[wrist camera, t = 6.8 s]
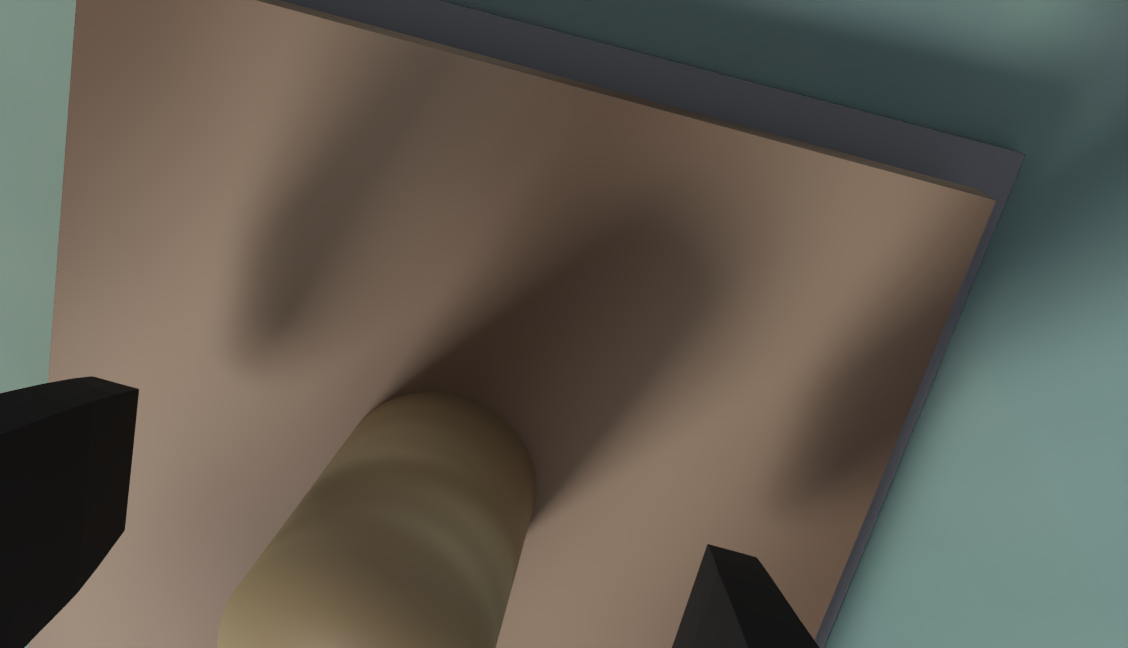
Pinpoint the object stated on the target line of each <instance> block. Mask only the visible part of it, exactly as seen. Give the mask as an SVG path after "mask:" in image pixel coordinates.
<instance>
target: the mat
mask: <svg viewBox="0 0 1128 648" xmlns="http://www.w3.org/2000/svg"><path fill="white" fill-rule="evenodd" d="M280 1H284V2H288V3H291V4H295V5H299V6H303V7H306V8H310V9H314V10H317V11H321V12H325V13H328V14H332V15H336V16H340V17H343V18H347V19H351V20H354V21H358V22H362V23H365V24H369V25H373V26H377V27H380V28H384V29H388V30H391V31H395V32H399V33H402V34H406V35H410V36H414V37H417V38H421V39H425V40H428V41H432V42H436V43H439V44H443V45H447V46H451V47H454V48H458V49H462V50H465V51H469V52H473V53H476V54H480V55H484V56H487V57H491V58H495V59H499V60H502V61H506V62H510V63H513V64H517V65H521V66H524V67H528V68H532V69H536V70H539V71H543V72H547V73H550V74H554V75H558V76H561V77H565V78H569V79H573V80H576V81H580V82H584V83H587V84H591V85H595V86H598V87H602V88H606V89H610V90H613V91H617V92H621V93H624V94H628V95H632V96H635V97H639V98H643V99H647V100H650V101H654V102H658V103H661V104H665V105H669V106H672V107H676V108H680V109H684V110H687V111H691V112H695V113H698V114H702V115H706V116H709V117H713V118H717V119H721V120H724V121H728V122H732V123H735V124H739V125H743V126H746V127H750V128H754V129H758V130H761V131H765V132H769V133H772V134H776V135H780V136H783V137H787V138H791V139H795V140H798V141H802V142H806V143H809V144H813V145H817V146H820V147H824V148H828V149H832V150H835V151H839V152H843V153H846V154H850V155H854V156H857V157H861V158H865V159H868V160H872V161H876V162H880V163H883V164H887V165H891V166H894V167H898V168H902V169H905V170H909V171H913V172H917V173H920V174H924V175H928V176H931V177H935V178H939V179H942V180H946V181H950V182H954V183H957V184H961V185H965V186H968V187H972V188H976V189H978V190H979V191H981V192H983V193H984V194H986V195H988V196H989V197H991V198H993V199H994V200H996V202H995V205H994V207H993V210H992V212H991V214H990V217H989V219H988V222H987V224H986V227H985V229H984V231H983V234H982V236H981V239H980V241H979V244H978V246H977V248H976V251H975V253H974V256H973V258H972V260H971V263H970V265H969V268H968V270H967V273H966V275H965V277H964V280H963V282H962V285H961V287H960V289H959V292H958V294H957V297H956V299H955V302H954V304H953V306H952V309H951V311H950V314H949V316H948V319H947V321H946V323H945V326H944V328H943V331H942V333H941V335H940V338H939V340H938V343H937V345H936V348H935V350H934V352H933V355H932V357H931V360H930V362H929V364H928V367H927V369H926V372H925V374H924V377H923V379H922V381H921V384H920V386H919V389H918V391H917V394H916V396H915V398H914V401H913V403H912V406H911V408H910V410H909V413H908V415H907V418H906V420H905V423H904V425H903V427H902V430H901V432H900V435H899V437H898V439H897V442H896V444H895V447H894V449H893V452H892V454H891V456H890V459H889V461H888V464H887V466H886V469H885V471H884V473H883V476H882V478H881V481H880V483H879V485H878V488H877V490H876V493H875V495H874V498H873V500H872V502H871V505H870V507H869V510H868V512H867V514H866V517H865V519H864V522H863V524H862V527H861V529H860V531H859V534H858V536H857V539H856V541H855V544H854V546H853V548H852V551H851V553H850V556H849V558H848V560H847V563H846V565H845V568H844V570H843V573H842V575H841V577H840V580H839V582H838V585H837V587H836V589H835V592H834V594H833V597H832V599H831V602H830V604H829V606H828V609H827V611H826V614H825V616H824V618H823V621H822V623H821V626H820V628H819V631H818V633H817V635H816V638H815V642H816V643H817V645H818V646H819V647H820V648H824V646H825V644H826V641H827V639H828V636H829V634H830V631H831V629H832V626H833V624H834V622H835V619H836V617H837V614H838V612H839V609H840V607H841V604H842V602H843V600H844V597H845V595H846V592H847V590H848V587H849V585H850V582H851V580H852V578H853V575H854V573H855V570H856V568H857V565H858V563H859V560H860V558H861V556H862V553H863V551H864V548H865V546H866V543H867V541H868V538H869V536H870V534H871V531H872V529H873V526H874V524H875V521H876V519H877V516H878V514H879V512H880V509H881V507H882V504H883V502H884V499H885V497H886V494H887V492H888V490H889V487H890V485H891V482H892V480H893V477H894V475H895V473H896V470H897V468H898V465H899V463H900V460H901V458H902V455H903V453H904V451H905V448H906V446H907V443H908V441H909V438H910V436H911V433H912V431H913V429H914V426H915V424H916V421H917V419H918V416H919V414H920V411H921V409H922V407H923V404H924V402H925V399H926V397H927V394H928V392H929V389H930V387H931V385H932V382H933V380H934V377H935V375H936V372H937V370H938V367H939V365H940V363H941V360H942V358H943V355H944V353H945V350H946V348H947V345H948V343H949V341H950V338H951V336H952V333H953V331H954V328H955V326H956V323H957V321H958V319H959V316H960V314H961V311H962V309H963V306H964V304H965V301H966V299H967V297H968V294H969V292H970V289H971V287H972V284H973V282H974V280H975V277H976V275H977V272H978V270H979V267H980V265H981V262H982V260H983V258H984V255H985V253H986V250H987V248H988V245H989V243H990V240H991V238H992V236H993V233H994V231H995V228H996V226H997V223H998V221H999V218H1000V216H1001V214H1002V211H1003V209H1004V206H1005V204H1006V201H1007V199H1008V196H1009V194H1010V192H1011V189H1012V187H1013V184H1014V182H1015V179H1016V177H1017V174H1018V172H1019V170H1020V167H1021V165H1022V162H1023V160H1024V157H1025V154H1022V153H1020V152H1018V151H1014V150H1010V149H1006V148H1002V147H998V146H995V145H991V144H987V143H983V142H979V141H976V140H972V139H968V138H964V137H960V136H956V135H953V134H949V133H945V132H941V131H937V130H933V129H930V128H926V127H922V126H918V125H914V124H911V123H907V122H903V121H899V120H895V119H891V118H888V117H884V116H880V115H876V114H872V113H869V112H865V111H861V110H857V109H853V108H849V107H846V106H842V105H838V104H834V103H830V102H826V101H823V100H819V99H815V98H811V97H807V96H804V95H800V94H796V93H792V92H788V91H784V90H781V89H777V88H773V87H769V86H765V85H762V84H758V83H754V82H750V81H746V80H742V79H739V78H735V77H731V76H727V75H723V74H719V73H716V72H712V71H708V70H704V69H700V68H697V67H693V66H689V65H685V64H681V63H677V62H674V61H670V60H666V59H662V58H658V57H655V56H651V55H647V54H643V53H639V52H635V51H632V50H628V49H624V48H620V47H616V46H612V45H609V44H605V43H601V42H597V41H593V40H590V39H586V38H582V37H578V36H574V35H570V34H567V33H563V32H559V31H555V30H551V29H548V28H544V27H540V26H536V25H532V24H528V23H525V22H521V21H517V20H513V19H509V18H506V17H502V16H498V15H494V14H490V13H486V12H483V11H479V10H475V9H471V8H467V7H463V6H460V5H456V4H452V3H448V2H444V1H441V0H280Z"/></svg>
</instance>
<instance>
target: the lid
mask: <svg viewBox="0 0 1128 648" xmlns="http://www.w3.org/2000/svg"><path fill="white" fill-rule="evenodd" d="M995 202H996V200H994V199H993V198H991V197H989V196H988V195H986V194H984V193H983V192H981V191H979V190H978V189H976V188H972V187H968V186H965V185H961V184H957V183H954V182H950V181H946V180H942V179H939V178H935V177H931V176H928V175H924V174H920V173H917V172H913V171H909V170H905V169H902V168H898V167H894V166H891V165H887V164H883V163H880V162H876V161H872V160H868V159H865V158H861V157H857V156H854V155H850V154H846V153H843V152H839V151H835V150H832V149H828V148H824V147H820V146H817V145H813V144H809V143H806V142H802V141H798V140H795V139H791V138H787V137H783V136H780V135H776V134H772V133H769V132H765V131H761V130H758V129H754V128H750V127H746V126H743V125H739V124H735V123H732V122H728V121H724V120H721V119H717V118H713V117H709V116H706V115H702V114H698V113H695V112H691V111H687V110H684V109H680V108H676V107H672V106H669V105H665V104H661V103H658V102H654V101H650V100H647V99H643V98H639V97H635V96H632V95H628V94H624V93H621V92H617V91H613V90H610V89H606V88H602V87H598V86H595V85H591V84H587V83H584V82H580V81H576V80H573V79H569V78H565V77H561V76H558V75H554V74H550V73H547V72H543V71H539V70H536V69H532V68H528V67H524V66H521V65H517V64H513V63H510V62H506V61H502V60H499V59H495V58H491V57H487V56H484V55H480V54H476V53H473V52H469V51H465V50H462V49H458V48H454V47H451V46H447V45H443V44H439V43H436V42H432V41H428V40H425V39H421V38H417V37H414V36H410V35H406V34H402V33H399V32H395V31H391V30H388V29H384V28H380V27H377V26H373V25H369V24H365V23H362V22H358V21H354V20H351V19H347V18H343V17H340V16H336V15H332V14H328V13H325V12H321V11H317V10H314V9H310V8H306V7H303V6H299V5H295V4H291V3H288V2H284V1H280V0H76V13H75V27H74V40H73V54H72V67H71V81H70V94H69V108H68V121H67V135H66V149H65V162H64V176H63V189H62V203H61V216H60V230H59V243H58V257H57V270H56V284H55V298H54V311H53V325H52V338H51V352H50V365H49V379H48V383H50V382H56V381H61V380H67V379H73V378H81V377H89V376H93V377H97V378H101V379H104V380H108V381H112V382H115V383H119V384H123V385H126V386H130V387H134V388H137V389H139V397H138V407H137V416H136V426H135V436H134V446H133V456H132V465H131V475H130V485H129V495H128V505H127V515H126V524H125V531H124V532H123V533H122V535H121V536H120V538H119V539H118V540H117V542H116V543H115V544H114V546H113V547H112V549H111V550H110V551H109V553H108V554H107V555H106V557H105V558H104V560H103V561H102V562H101V564H100V565H99V566H98V568H97V569H96V570H95V571H94V573H93V574H92V575H91V577H90V578H89V579H88V580H87V582H86V583H85V584H84V585H83V587H82V588H81V589H80V591H79V592H78V593H77V594H76V595H75V596H74V597H73V598H72V599H71V601H70V602H69V603H68V604H67V605H66V606H65V607H64V608H63V609H62V610H61V611H60V612H59V613H58V614H57V615H56V616H55V617H54V618H53V619H52V620H51V621H50V622H49V623H48V624H47V625H46V626H45V627H44V628H43V629H42V630H41V631H40V632H39V633H38V634H37V635H36V636H35V637H34V638H33V639H32V640H31V641H30V642H29V648H672V646H673V643H674V640H675V637H676V634H677V631H678V628H679V625H680V622H681V620H682V617H683V614H684V611H685V608H686V605H687V602H688V599H689V596H690V593H691V590H692V588H693V585H694V582H695V579H696V576H697V573H698V570H699V567H700V564H701V561H702V558H703V556H704V553H705V550H706V547H707V544H710V545H714V546H717V547H721V548H725V549H728V550H732V551H736V552H740V553H743V554H747V555H751V556H754V557H757V558H758V560H759V561H760V562H761V564H762V565H763V566H764V568H765V569H766V571H767V572H768V573H769V575H770V576H771V578H772V579H773V581H774V582H775V584H776V585H777V587H778V588H779V590H780V591H781V593H782V594H783V595H784V597H785V598H786V600H787V601H788V603H789V604H790V606H791V607H792V609H793V610H794V612H795V613H796V615H797V616H798V617H799V619H800V620H801V622H802V623H803V625H804V626H805V628H806V629H807V630H808V632H809V633H810V635H811V636H812V638H813V639H814V640H815V638H816V635H817V633H818V631H819V628H820V626H821V623H822V621H823V618H824V616H825V614H826V611H827V609H828V606H829V604H830V602H831V599H832V597H833V594H834V592H835V589H836V587H837V585H838V582H839V580H840V577H841V575H842V573H843V570H844V568H845V565H846V563H847V560H848V558H849V556H850V553H851V551H852V548H853V546H854V544H855V541H856V539H857V536H858V534H859V531H860V529H861V527H862V524H863V522H864V519H865V517H866V514H867V512H868V510H869V507H870V505H871V502H872V500H873V498H874V495H875V493H876V490H877V488H878V485H879V483H880V481H881V478H882V476H883V473H884V471H885V469H886V466H887V464H888V461H889V459H890V456H891V454H892V452H893V449H894V447H895V444H896V442H897V439H898V437H899V435H900V432H901V430H902V427H903V425H904V423H905V420H906V418H907V415H908V413H909V410H910V408H911V406H912V403H913V401H914V398H915V396H916V394H917V391H918V389H919V386H920V384H921V381H922V379H923V377H924V374H925V372H926V369H927V367H928V364H929V362H930V360H931V357H932V355H933V352H934V350H935V348H936V345H937V343H938V340H939V338H940V335H941V333H942V331H943V328H944V326H945V323H946V321H947V319H948V316H949V314H950V311H951V309H952V306H953V304H954V302H955V299H956V297H957V294H958V292H959V289H960V287H961V285H962V282H963V280H964V277H965V275H966V273H967V270H968V268H969V265H970V263H971V260H972V258H973V256H974V253H975V251H976V248H977V246H978V244H979V241H980V239H981V236H982V234H983V231H984V229H985V227H986V224H987V222H988V219H989V217H990V214H991V212H992V210H993V207H994V205H995Z"/></svg>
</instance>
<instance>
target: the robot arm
mask: <svg viewBox="0 0 1128 648" xmlns="http://www.w3.org/2000/svg"><path fill="white" fill-rule="evenodd" d="M138 397H139V389H137V388H134V387H130V386H126V385H123V384H119V383H115V382H112V381H108V380H104V379H101V378H97V377H93V376H89V377H81V378H73V379H67V380H61V381H56V382H50V383H46V384H41V385H36V386H31V387H27V388H22V389H18V390H14V391H9V392H5V393H0V648H24V647H25V646H26V645H27V644H28V643H29V642H30V641H31V640H32V639H33V638H34V637H35V636H36V635H37V634H38V633H39V632H40V631H41V630H42V629H43V628H44V627H45V626H46V625H47V624H48V623H49V622H50V621H51V620H52V619H53V618H54V617H55V616H56V615H57V614H58V613H59V612H60V611H61V610H62V609H63V608H64V607H65V606H66V605H67V604H68V603H69V602H70V601H71V599H72V598H73V597H74V596H75V595H76V594H77V593H78V592H79V591H80V589H81V588H82V587H83V585H84V584H85V583H86V582H87V580H88V579H89V578H90V577H91V575H92V574H93V573H94V571H95V570H96V569H97V568H98V566H99V565H100V564H101V562H102V561H103V560H104V558H105V557H106V555H107V554H108V553H109V551H110V550H111V549H112V547H113V546H114V544H115V543H116V542H117V540H118V539H119V538H120V536H121V535H122V533H123V532H124V531H125V524H126V515H127V505H128V495H129V485H130V475H131V465H132V456H133V446H134V436H135V426H136V416H137V407H138ZM672 648H820V647H819V646H818V645H817V643H816V642H815V640H814V639H813V638H812V636H811V635H810V633H809V632H808V630H807V629H806V628H805V626H804V625H803V623H802V622H801V620H800V619H799V617H798V616H797V615H796V613H795V612H794V610H793V609H792V607H791V606H790V604H789V603H788V601H787V600H786V598H785V597H784V595H783V594H782V593H781V591H780V590H779V588H778V587H777V585H776V584H775V582H774V581H773V579H772V578H771V576H770V575H769V573H768V572H767V571H766V569H765V568H764V566H763V565H762V564H761V562H760V561H759V560H758V558H757V557H754V556H751V555H747V554H743V553H740V552H736V551H732V550H728V549H725V548H721V547H717V546H714V545H710V544H707V547H706V550H705V553H704V556H703V558H702V561H701V564H700V567H699V570H698V573H697V576H696V579H695V582H694V585H693V588H692V590H691V593H690V596H689V599H688V602H687V605H686V608H685V611H684V614H683V617H682V620H681V622H680V625H679V628H678V631H677V634H676V637H675V640H674V643H673V646H672Z"/></svg>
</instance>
